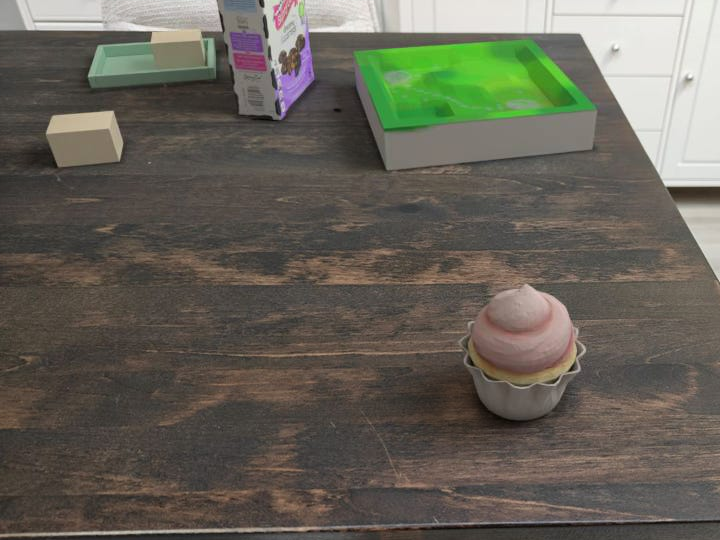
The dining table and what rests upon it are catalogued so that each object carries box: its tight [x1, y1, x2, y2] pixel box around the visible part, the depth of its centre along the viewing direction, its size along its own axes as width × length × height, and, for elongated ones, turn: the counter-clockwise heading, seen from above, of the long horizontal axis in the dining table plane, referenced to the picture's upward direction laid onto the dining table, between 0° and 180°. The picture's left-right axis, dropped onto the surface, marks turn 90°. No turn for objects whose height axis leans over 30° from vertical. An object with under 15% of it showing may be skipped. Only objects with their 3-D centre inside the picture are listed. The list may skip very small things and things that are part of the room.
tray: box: [352, 38, 598, 171], centre depth 94 cm, size 25×25×5 cm
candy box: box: [216, 0, 316, 121], centre depth 94 cm, size 14×6×16 cm, turn 171°
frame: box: [87, 37, 217, 89], centre depth 105 cm, size 16×13×2 cm
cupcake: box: [457, 283, 587, 421], centre depth 54 cm, size 9×9×10 cm
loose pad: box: [45, 110, 124, 168], centre depth 85 cm, size 6×5×4 cm
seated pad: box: [150, 28, 206, 70], centre depth 105 cm, size 6×5×4 cm
